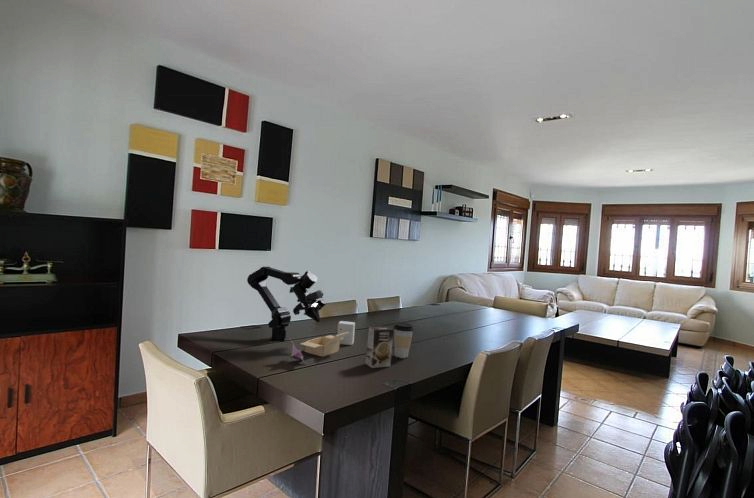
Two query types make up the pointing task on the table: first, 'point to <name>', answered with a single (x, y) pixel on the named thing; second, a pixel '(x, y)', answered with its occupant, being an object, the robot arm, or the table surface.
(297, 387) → the table surface
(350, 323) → the small box
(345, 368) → the table surface
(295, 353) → the lily
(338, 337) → the flap
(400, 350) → the coffee cup
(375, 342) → the coffee box
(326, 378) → the table surface
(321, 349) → the carton
